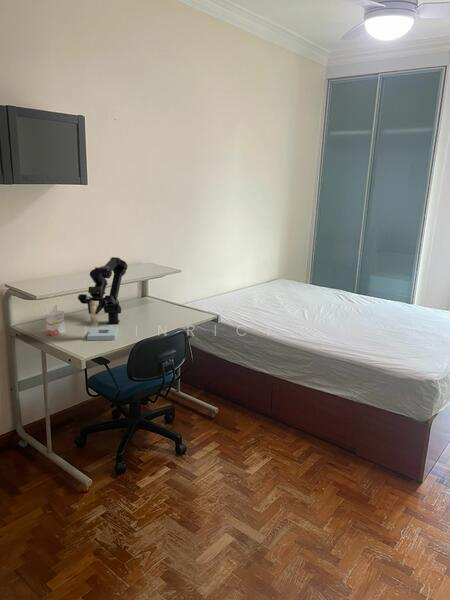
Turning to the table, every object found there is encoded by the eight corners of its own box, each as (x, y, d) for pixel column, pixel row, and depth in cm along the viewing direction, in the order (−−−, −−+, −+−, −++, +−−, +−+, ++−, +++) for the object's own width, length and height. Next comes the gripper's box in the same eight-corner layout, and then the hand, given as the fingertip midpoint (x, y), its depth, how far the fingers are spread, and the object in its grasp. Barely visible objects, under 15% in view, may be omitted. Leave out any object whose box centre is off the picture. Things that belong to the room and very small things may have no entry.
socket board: (92, 332, 244) (92, 327, 243) (118, 331, 245) (118, 327, 245) (87, 340, 231) (87, 335, 230) (114, 340, 232) (114, 335, 231)
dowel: (90, 324, 235) (89, 301, 232) (97, 323, 236) (96, 300, 233) (91, 326, 232) (90, 303, 228) (98, 325, 233) (97, 302, 230)
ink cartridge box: (54, 336, 236) (51, 309, 233) (46, 334, 238) (44, 308, 235) (65, 331, 244) (63, 305, 240) (58, 330, 246) (56, 304, 242)
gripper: (77, 279, 233) (70, 305, 225) (112, 280, 231) (105, 307, 223) (85, 290, 242) (78, 315, 235) (118, 291, 240) (111, 317, 233)
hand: (92, 313), depth 231 cm, fingers closed on dowel, 4 cm apart
